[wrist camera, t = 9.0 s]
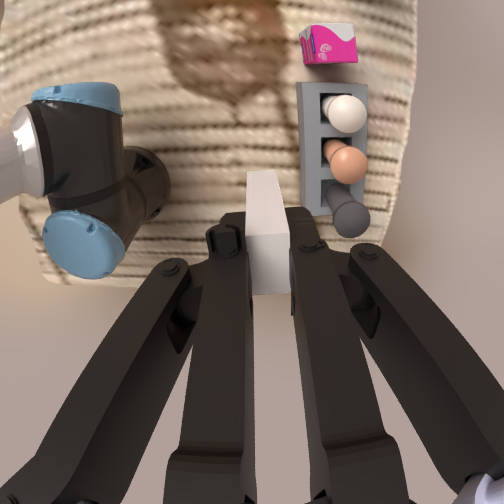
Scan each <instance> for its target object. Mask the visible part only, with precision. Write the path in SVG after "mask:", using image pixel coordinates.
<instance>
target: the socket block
mask: <svg viewBox="0 0 504 504" xmlns="http://www.w3.org/2000/svg"><path fill="white" fill-rule="evenodd" d="M296 91H297V108H298V128H299V152H300V191H301V204H302V207H303V206H304V207H305V208H306V209H308V210H309V211H310V212H311V215H312V216H320V215H333V213H332V211H331V209H330V207H329V205H328V203H327V202H326V200H325V191H326V189H327V188H328V186H330V185H331V184H334V183H340V184H343V185H344V186H345V187H346V188H347V189H348V191H349V192H350V194H351V195H352V196H353V198H354V199H355V201H357V202H360V203H362V204H363V194H364V181H365V176H364V177H363V178H362V179H361V180H360V181H358V182H356V183H354V184H344V183H341V182H339V181H338V180H337V179H336V178H335V177H334V175H333V174H332V172H331V170H330V166H329V162H328V161H327V160H326V158H325V157H324V156H323V154H322V152H321V145H322V143H323V142H324V140H326V139H327V138H329V137H337V138H339V139H340V140H342V141H343V142H344V143H345V144H346V145H348V146H353V147H356V148H357V149H359V150H360V151H361V152H362V153H363V154H364V155H365V157H366V146H367V116H366V121H365V123H364V125H363V127H362V128H361V129H359V130H358V131H356V132H353V133H344V132H341V131H339V130H337V129H336V128H335V127H333V126H332V124H331V123H330V122H329V120H328V118H327V117H325V116H324V115H322V114H321V112H320V99H321V98H322V97H323V96H325V95H328V94H332V95H336V96H339V95H350V96H353V97H356V98H357V99H359V100H360V101H361V102H362V103H363V105H364V106H365V109H366V114H367V85H363V84H357V83H342V82H296Z"/></svg>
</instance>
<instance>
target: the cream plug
mask: <svg viewBox="0 0 504 504" xmlns="http://www.w3.org/2000/svg"><path fill="white" fill-rule="evenodd" d="M320 112H321V114H322V115H324V116H325V117H327V118H328V120H329V122H330V123H331V124H332V126H333V127H335V128H336V129H337V130H339V131H341V132H344V133H353V132H356V131H358V130H359V129H361V128H362V127H363V125H364V123H365V121H366V116H367V114H366V109H365V106H364V105H363V103H362V102H361V101H360V100H359V99H357V98H356V97H353V96H350V95H339V96H336V95H332V94H328V95H325V96H323V97H322V98H321V99H320Z"/></svg>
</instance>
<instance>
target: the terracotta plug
mask: <svg viewBox="0 0 504 504" xmlns="http://www.w3.org/2000/svg"><path fill="white" fill-rule="evenodd" d="M321 152H322V154H323V156H324V157H325V158H326V160H327V161H328V162H329V166H330V170H331V172H332V174H333V175H334V177H335V178H336V179H337V180H338V181H339V182H341V183H344V184H354V183H356V182H358V181H360V180H361V179H362V178H363V177H364V176H365V174H366V172H367V168H368V162H367V159H366V157H365V155H364V154H363V153H362V152H361V151H360V150H359V149H357V148H356V147H353V146H348V145H346V144H345V143H344V142H343V141H342V140H340V139H339V138H337V137H329V138H327V139H326V140H324V142H323V143H322V145H321Z"/></svg>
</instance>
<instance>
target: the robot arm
mask: <svg viewBox="0 0 504 504" xmlns="http://www.w3.org/2000/svg"><path fill="white" fill-rule="evenodd" d="M31 101H32V103H30V104H27V105H24V106H21V107H19V108H18V110H17V111H16V113H15V115H14V116H13V118H12V120H11V121H10V122H9V123H8V124H6V125H4V126H1V127H0V204H2V203H3V202H5V201H7V200H9V199H11V198H13V197H15V196H17V195H19V194H21V193H26V194H29V195H31V196H33V197H35V198H37V199H38V198H41V197H43V196H46V195H47V196H48V200H49V205H50V209H51V213H52V214H51V215H50V216H49V217H48V218H47V219H46V222H45V226H44V228H43V232H42V237H43V242H44V245H45V248H46V250H47V252H48V254H49V255H50V256H51V258H52V259H53V260H54V261H55V262H56V263H57V264H58V265H59V266H60V267H61V268H63V269H65V270H66V271H67V272H68V273H70V274H72V275H74V276H77V277H80V278H84V279H101V278H104V277H106V276H108V275H109V274H111V273H112V272H113V271H114V270H115V268H116V267H117V265H118V264H119V263H120V262H121V261H122V260H123V258H124V255H125V252H126V251H127V249H128V247H129V245H130V244H131V242H132V240H133V238H134V237H135V235H136V233H137V232H138V230H139V228H140V227H141V225H142V224H144V223H146V222H148V221H150V220H152V219H153V218H155V217H156V216H157V215H158V214H159V213H160V212H161V210H162V209H163V207H164V205H165V204H166V202H167V200H168V197H169V193H170V180H169V176H168V173H167V170H166V168H165V166H164V165H163V163H162V162H161V161H160V160H159V158H158V157H156V156H155V155H154V154H153V153H151V152H150V151H148V150H146V149H144V148H140V147H136V146H126V147H124V145H123V132H122V117H123V112H122V111H121V104H120V93H119V90H118V88H117V87H116V86H115V85H114V84H111V83H107V82H82V83H70V84H64V85H58V86H50V87H45V88H41V89H38V90H36V91H34V93H33V96H32V98H31ZM205 235H206V240H207V245H208V250H209V258H208V259H207V260H205V261H203V262H201V263H198V264H194V265H191V266H188V263H187V261H185V260H184V259H181V258H170V259H166V260H164V261H162V262H160V263H158V264H157V265H156V266H155V267H154V269H153V270H152V271H151V273H150V274H149V275H148V277H147V278H146V279H145V281H144V282H143V283H142V285H141V286H140V288H139V289H138V290H137V292H136V293H135V295H134V296H133V297H132V299H131V300H130V302H129V303H128V304H127V306H126V307H125V309H124V310H123V312H122V313H121V314H120V316H119V317H118V319H117V320H116V322H115V323H114V325H113V326H112V327H111V329H110V330H109V332H108V333H107V335H106V336H105V338H104V339H103V341H102V342H101V344H100V345H99V347H98V348H97V350H96V352H95V353H94V354H93V356H92V358H91V359H90V361H89V362H88V364H87V366H86V367H85V369H84V370H83V372H82V373H81V375H80V377H79V378H78V380H77V381H76V383H75V385H74V386H73V388H72V390H71V391H70V393H69V395H68V396H67V398H66V400H65V402H64V403H63V405H62V407H61V408H60V410H59V412H58V413H57V415H56V417H55V419H54V421H53V422H52V424H51V426H50V428H49V430H48V431H47V433H46V435H45V437H44V439H43V441H42V443H41V445H40V447H39V449H38V450H37V452H36V454H35V456H34V457H33V458H32V459H30V460H29V461H28V462H27V463H26V464H25V465H24V466H23V467H22V468H21V469H20V470H19V471H18V472H17V473H16V474H15V475H14V476H12V477H11V478H10V479H9V480H8V481H7V482H6V483H5V484H4V485H3V486H2V487H1V488H0V504H120V503H121V502H122V500H123V498H124V496H125V494H126V492H127V490H128V488H129V486H130V484H131V481H132V479H133V477H134V474H135V472H136V470H137V468H138V465H139V463H140V461H141V458H142V456H143V454H144V451H145V449H146V447H147V445H148V442H149V440H150V438H151V435H152V433H153V431H154V429H155V427H156V424H157V422H158V420H159V417H160V415H161V413H162V411H163V408H164V407H165V404H166V402H167V400H168V398H169V396H170V393H171V391H172V389H173V386H174V384H175V382H176V380H177V378H178V376H179V373H180V371H181V369H182V367H183V365H184V363H185V360H186V358H187V356H188V354H189V351H190V349H191V347H192V345H193V349H192V356H191V362H190V368H189V375H188V382H187V389H186V396H185V403H184V411H183V418H182V427H181V435H180V442H179V446H178V448H177V450H175V451H174V452H173V453H172V454H171V456H170V458H169V460H168V465H167V470H166V478H165V487H164V497H163V504H257V487H256V477H255V420H254V337H253V336H254V335H253V334H254V332H253V300H252V295H264V294H276V293H277V294H278V293H290V292H291V315H292V316H293V318H294V326H295V334H296V341H297V349H298V357H299V365H300V373H301V382H302V391H303V400H304V408H305V418H306V428H307V438H308V448H309V459H310V493H311V494H310V495H311V502H308V503H306V504H416V503H415V502H414V501H412V500H410V499H409V496H408V491H407V485H406V479H405V474H404V469H403V464H402V459H401V455H400V451H399V448H398V445H397V442H396V441H395V439H394V438H393V437H392V436H390V435H388V434H387V433H386V431H385V429H384V426H383V422H382V419H381V414H380V410H379V406H378V402H377V398H376V394H375V390H374V387H373V383H372V379H371V375H370V372H369V368H368V365H367V361H366V358H365V355H364V351H363V348H362V344H361V341H360V339H361V340H362V342H363V343H364V344H365V346H366V348H367V349H368V351H369V353H370V354H371V356H372V358H373V359H374V361H375V363H376V364H377V366H378V367H379V369H380V371H381V372H382V374H383V376H384V377H385V379H386V381H387V382H388V384H389V386H390V387H391V389H392V391H393V392H394V394H395V396H396V397H397V399H398V401H399V402H400V404H401V406H402V408H403V409H404V411H405V413H406V414H407V416H408V418H409V420H410V421H411V423H412V425H413V427H414V428H415V430H416V432H417V434H418V435H419V437H420V439H421V441H422V443H423V445H424V446H425V448H426V450H427V452H428V454H429V456H430V457H431V459H432V461H433V463H434V465H435V467H436V468H437V470H438V472H439V473H440V475H441V477H442V478H443V479H444V481H445V482H446V483H447V484H448V485H449V487H450V488H451V489H452V490H453V491H454V492H455V493H456V494H457V495H458V496H457V498H456V499H455V500H454V502H453V503H452V504H504V390H503V389H502V387H501V386H500V384H499V383H498V381H497V380H496V379H495V377H494V376H493V374H492V373H491V372H490V370H489V369H488V368H487V366H486V365H485V364H484V362H483V361H482V360H481V358H480V357H479V356H478V355H477V353H476V352H475V351H474V349H473V348H472V347H471V346H470V345H469V343H468V342H467V341H466V339H465V338H464V337H463V336H462V335H461V333H460V332H459V331H458V330H457V328H455V326H454V325H453V324H452V322H451V321H450V320H449V319H448V318H447V317H446V315H445V314H444V313H443V312H442V311H441V310H440V309H439V308H438V306H437V305H436V304H435V303H434V302H433V301H432V300H431V299H430V298H429V296H428V295H427V294H426V293H425V292H424V291H423V290H422V289H421V288H420V286H418V284H417V283H416V282H415V281H414V280H413V279H412V278H411V277H410V276H409V275H408V274H407V273H406V272H405V271H404V270H403V269H402V268H401V267H400V266H399V264H398V263H397V262H396V261H395V260H394V259H393V258H391V256H390V255H389V254H388V253H387V252H386V251H385V250H383V249H382V248H381V247H379V246H377V245H375V244H372V243H359V244H356V245H354V246H353V247H352V248H351V250H350V253H344V252H338V251H334V250H331V249H329V247H328V245H327V243H326V242H325V241H324V240H322V239H320V236H319V234H318V231H317V228H316V226H315V223H314V220H313V218H312V215H311V212H310V211H309V210H308V209H306V208H305V207H304V206H303V207H287V208H284V204H283V200H282V196H281V191H280V187H279V183H278V178H277V174H276V170H275V169H274V170H260V171H248V172H247V195H246V211H245V212H233V213H226V214H225V215H224V216H223V217H222V218H221V220H220V224H218V225H215V226H213V227H211V228H210V229H208V230H207V232H206V234H205ZM359 337H360V338H359Z"/></svg>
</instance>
